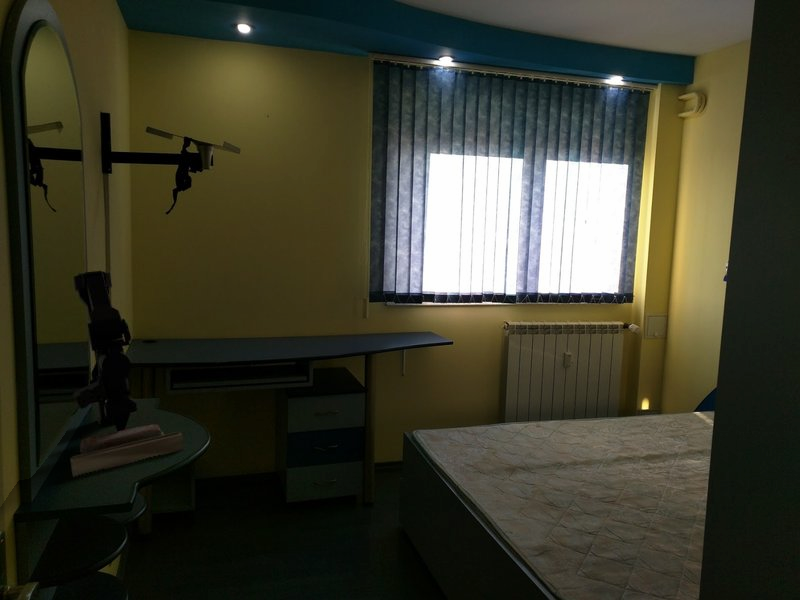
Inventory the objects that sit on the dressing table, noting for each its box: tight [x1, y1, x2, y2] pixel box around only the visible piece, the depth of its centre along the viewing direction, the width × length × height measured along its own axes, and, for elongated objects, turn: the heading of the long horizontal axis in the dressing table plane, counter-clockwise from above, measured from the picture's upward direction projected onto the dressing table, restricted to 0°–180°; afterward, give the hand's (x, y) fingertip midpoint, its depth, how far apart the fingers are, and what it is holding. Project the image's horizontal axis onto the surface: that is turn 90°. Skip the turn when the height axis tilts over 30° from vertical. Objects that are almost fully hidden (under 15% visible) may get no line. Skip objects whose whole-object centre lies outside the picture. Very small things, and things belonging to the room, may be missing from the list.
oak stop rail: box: [69, 431, 185, 478], centre depth 127 cm, size 2×22×4 cm, turn 122°
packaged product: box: [79, 423, 165, 454], centre depth 134 cm, size 18×5×10 cm
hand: (120, 433), depth 138 cm, fingers closed
